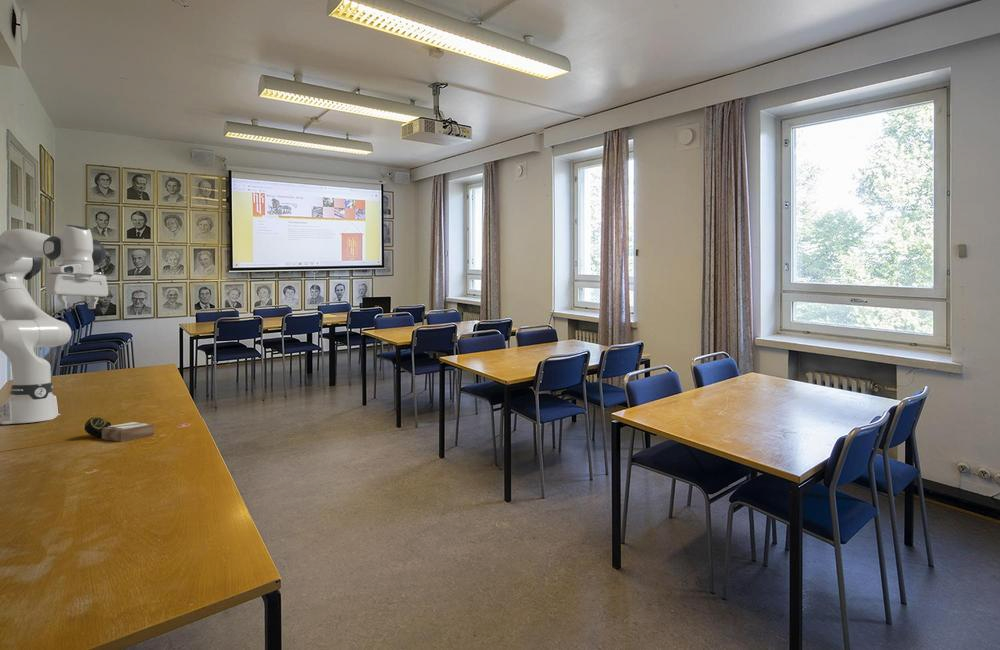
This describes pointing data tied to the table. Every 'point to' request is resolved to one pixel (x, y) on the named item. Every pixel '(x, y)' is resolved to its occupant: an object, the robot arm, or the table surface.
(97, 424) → the tape measure
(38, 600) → the table surface
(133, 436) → the brown white square block
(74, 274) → the robot arm
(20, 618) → the table surface
